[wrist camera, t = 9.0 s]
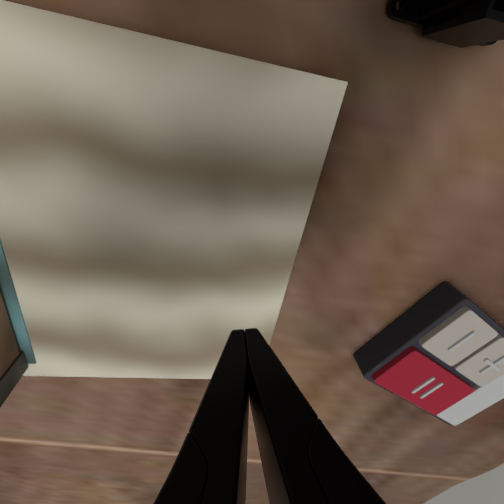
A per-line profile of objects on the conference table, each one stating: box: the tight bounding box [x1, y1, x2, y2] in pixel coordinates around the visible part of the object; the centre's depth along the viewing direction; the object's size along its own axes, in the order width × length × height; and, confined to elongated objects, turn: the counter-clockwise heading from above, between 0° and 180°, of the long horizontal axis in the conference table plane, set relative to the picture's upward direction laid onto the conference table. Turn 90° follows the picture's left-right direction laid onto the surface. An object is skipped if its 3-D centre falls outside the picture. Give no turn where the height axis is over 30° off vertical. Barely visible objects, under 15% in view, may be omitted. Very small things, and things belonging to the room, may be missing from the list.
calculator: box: [353, 282, 504, 426], centre depth 27 cm, size 11×4×15 cm
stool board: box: [0, 0, 348, 379], centre depth 17 cm, size 22×23×3 cm
